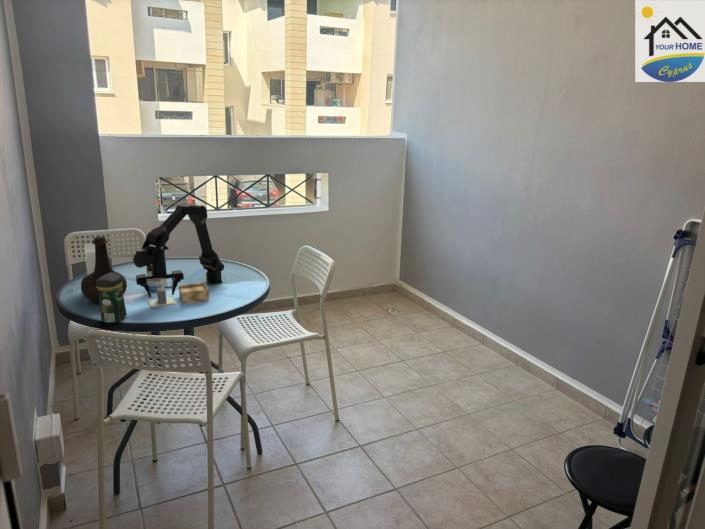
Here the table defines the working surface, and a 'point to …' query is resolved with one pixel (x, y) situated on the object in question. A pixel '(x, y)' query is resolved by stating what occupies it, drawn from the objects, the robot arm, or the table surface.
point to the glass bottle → (99, 271)
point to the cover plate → (169, 302)
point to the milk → (90, 257)
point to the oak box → (193, 293)
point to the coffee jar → (111, 298)
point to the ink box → (156, 283)
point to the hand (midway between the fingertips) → (161, 296)
